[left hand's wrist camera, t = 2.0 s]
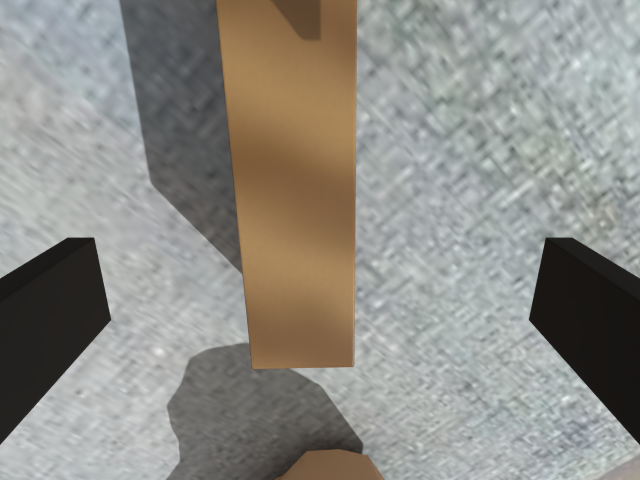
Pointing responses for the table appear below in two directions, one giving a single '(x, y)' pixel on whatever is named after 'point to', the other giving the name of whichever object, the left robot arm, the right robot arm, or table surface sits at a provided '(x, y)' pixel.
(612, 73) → the table surface
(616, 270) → the left robot arm
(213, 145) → the table surface
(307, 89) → the bar
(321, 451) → the squash
